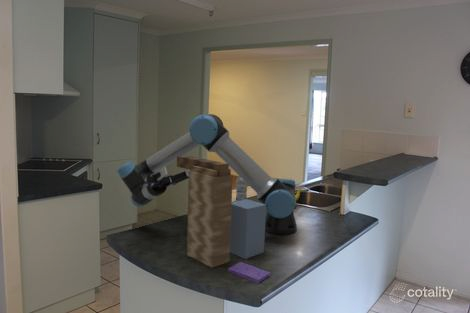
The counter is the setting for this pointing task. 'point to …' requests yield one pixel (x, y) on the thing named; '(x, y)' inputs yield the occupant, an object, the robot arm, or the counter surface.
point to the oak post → (209, 216)
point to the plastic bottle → (241, 189)
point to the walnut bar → (203, 164)
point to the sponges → (249, 272)
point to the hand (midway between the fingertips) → (181, 168)
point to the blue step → (247, 228)
